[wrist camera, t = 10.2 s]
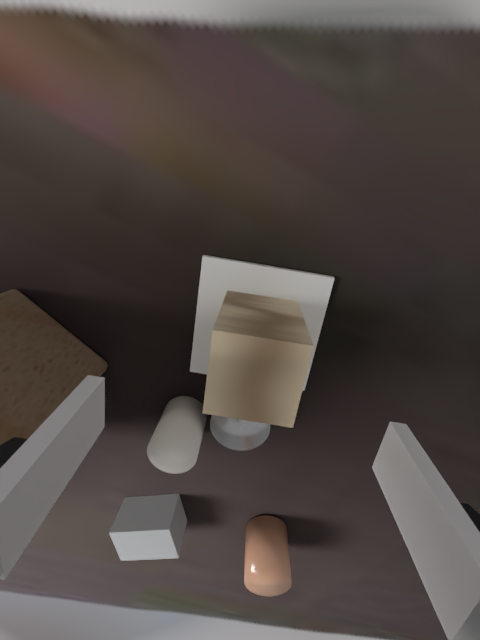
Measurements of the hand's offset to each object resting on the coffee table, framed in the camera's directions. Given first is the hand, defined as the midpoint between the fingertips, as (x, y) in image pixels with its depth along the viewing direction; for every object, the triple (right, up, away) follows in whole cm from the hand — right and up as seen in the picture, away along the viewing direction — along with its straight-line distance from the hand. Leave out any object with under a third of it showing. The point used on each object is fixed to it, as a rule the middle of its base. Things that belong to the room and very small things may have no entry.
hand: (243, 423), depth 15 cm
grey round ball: (0, -3, +14) cm, 15 cm away
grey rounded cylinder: (-5, -4, +15) cm, 17 cm away
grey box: (-9, -16, +20) cm, 27 cm away
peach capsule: (+3, -18, +20) cm, 27 cm away
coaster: (+1, +4, +11) cm, 12 cm away
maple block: (+1, +4, +11) cm, 12 cm away
